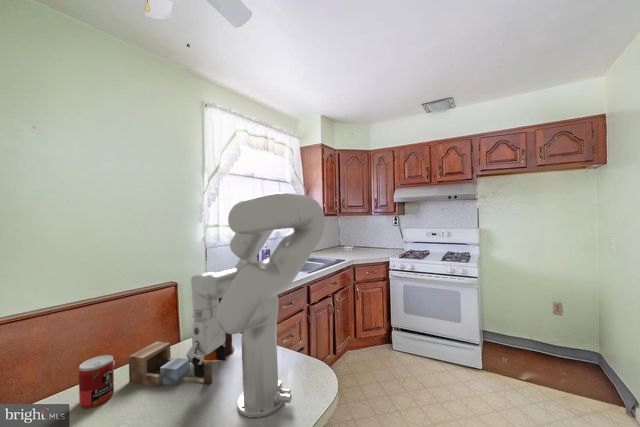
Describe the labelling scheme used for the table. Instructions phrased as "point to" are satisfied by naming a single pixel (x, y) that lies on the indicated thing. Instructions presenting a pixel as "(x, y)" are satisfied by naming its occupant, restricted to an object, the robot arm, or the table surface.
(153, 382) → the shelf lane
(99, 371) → the canned food
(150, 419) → the table surface
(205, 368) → the knob-handled block
